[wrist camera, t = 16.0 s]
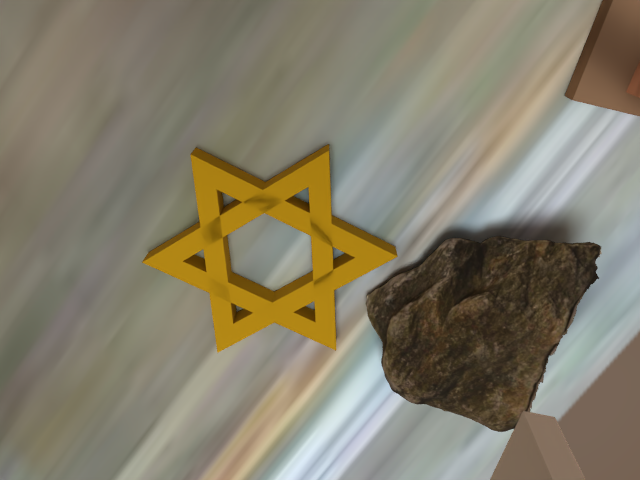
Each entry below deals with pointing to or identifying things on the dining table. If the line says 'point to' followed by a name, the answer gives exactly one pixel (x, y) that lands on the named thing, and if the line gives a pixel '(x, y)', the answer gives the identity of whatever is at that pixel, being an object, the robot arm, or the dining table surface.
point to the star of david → (282, 205)
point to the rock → (480, 323)
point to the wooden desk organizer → (611, 60)
